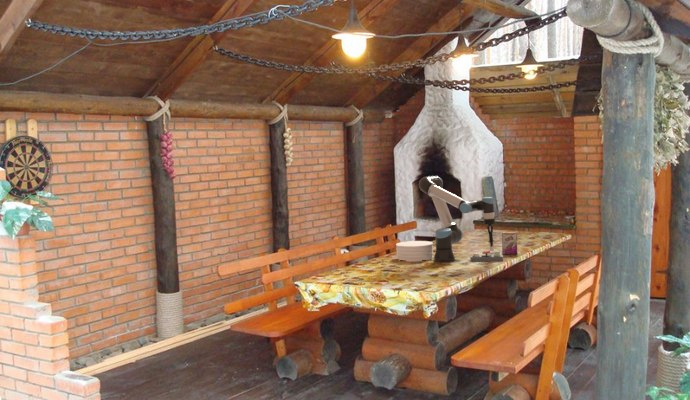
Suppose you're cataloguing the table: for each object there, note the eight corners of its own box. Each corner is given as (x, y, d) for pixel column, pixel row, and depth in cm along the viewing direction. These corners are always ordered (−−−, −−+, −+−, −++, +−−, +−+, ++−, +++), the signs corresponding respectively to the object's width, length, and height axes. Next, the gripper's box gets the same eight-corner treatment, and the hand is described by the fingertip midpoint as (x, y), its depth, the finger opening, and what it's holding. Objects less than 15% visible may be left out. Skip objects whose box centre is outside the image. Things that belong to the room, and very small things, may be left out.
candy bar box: (502, 254, 514) (501, 232, 513) (502, 253, 519) (501, 231, 517) (517, 254, 511) (516, 232, 510) (517, 253, 516) (517, 231, 514)
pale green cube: (494, 257, 489) (494, 251, 489) (494, 256, 492) (494, 250, 492) (499, 256, 488) (499, 251, 488) (499, 256, 492) (499, 250, 491)
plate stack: (432, 261, 499) (431, 246, 498) (394, 262, 505) (393, 246, 504) (434, 255, 526) (434, 240, 526) (399, 255, 532) (398, 241, 531)
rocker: (482, 255, 490) (482, 252, 490) (482, 254, 494) (482, 251, 494) (490, 253, 489) (489, 251, 489) (490, 252, 493) (489, 250, 493)
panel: (470, 261, 490) (470, 255, 490) (470, 259, 498) (470, 253, 498) (503, 260, 486) (502, 254, 485) (502, 258, 494) (502, 253, 493)
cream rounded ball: (473, 259, 492) (473, 253, 492) (473, 258, 496) (473, 253, 495) (478, 259, 491) (478, 253, 491) (478, 258, 495) (478, 252, 495)
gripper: (494, 218, 482) (497, 251, 483) (494, 217, 495) (497, 249, 496) (484, 219, 483) (486, 252, 485) (484, 217, 496) (486, 249, 498)
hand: (492, 250), depth 490 cm, fingers closed
